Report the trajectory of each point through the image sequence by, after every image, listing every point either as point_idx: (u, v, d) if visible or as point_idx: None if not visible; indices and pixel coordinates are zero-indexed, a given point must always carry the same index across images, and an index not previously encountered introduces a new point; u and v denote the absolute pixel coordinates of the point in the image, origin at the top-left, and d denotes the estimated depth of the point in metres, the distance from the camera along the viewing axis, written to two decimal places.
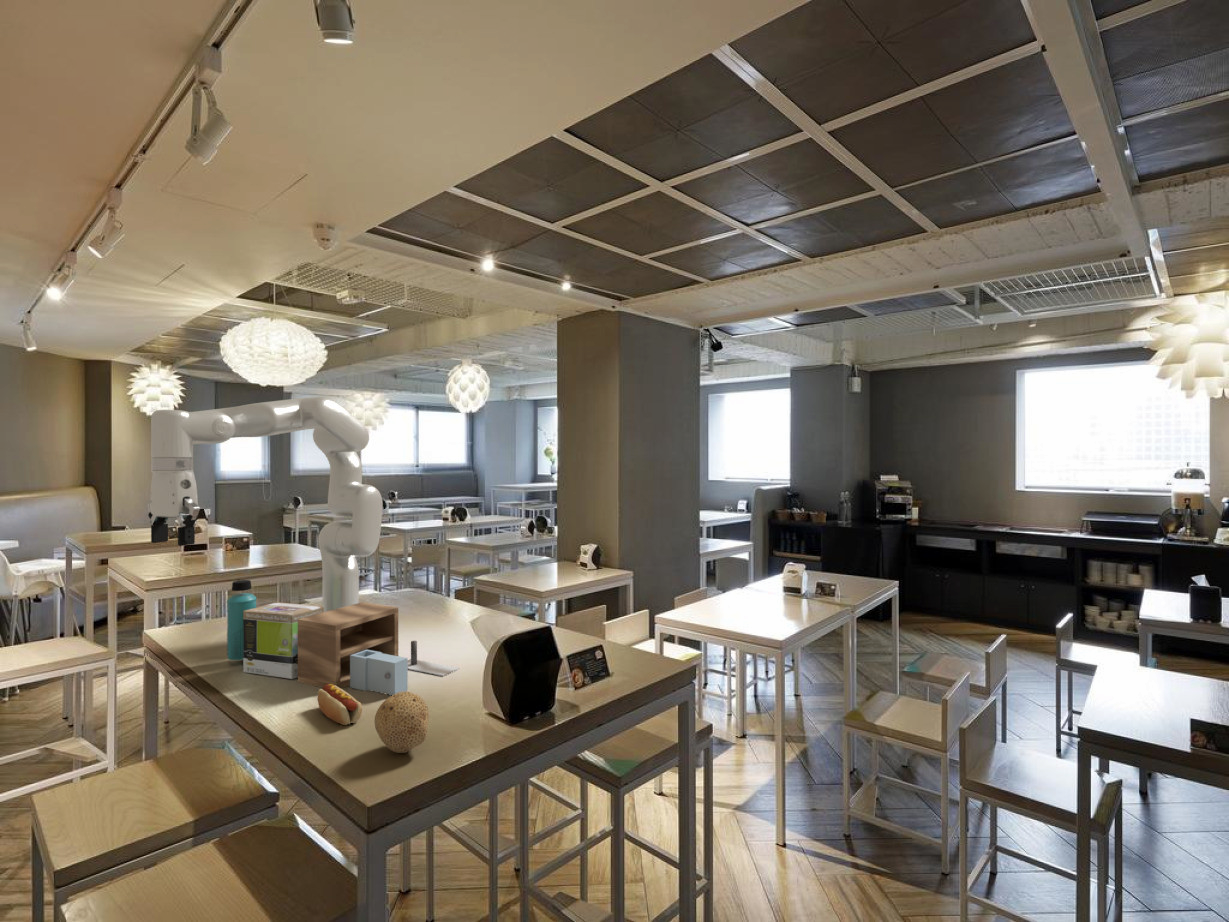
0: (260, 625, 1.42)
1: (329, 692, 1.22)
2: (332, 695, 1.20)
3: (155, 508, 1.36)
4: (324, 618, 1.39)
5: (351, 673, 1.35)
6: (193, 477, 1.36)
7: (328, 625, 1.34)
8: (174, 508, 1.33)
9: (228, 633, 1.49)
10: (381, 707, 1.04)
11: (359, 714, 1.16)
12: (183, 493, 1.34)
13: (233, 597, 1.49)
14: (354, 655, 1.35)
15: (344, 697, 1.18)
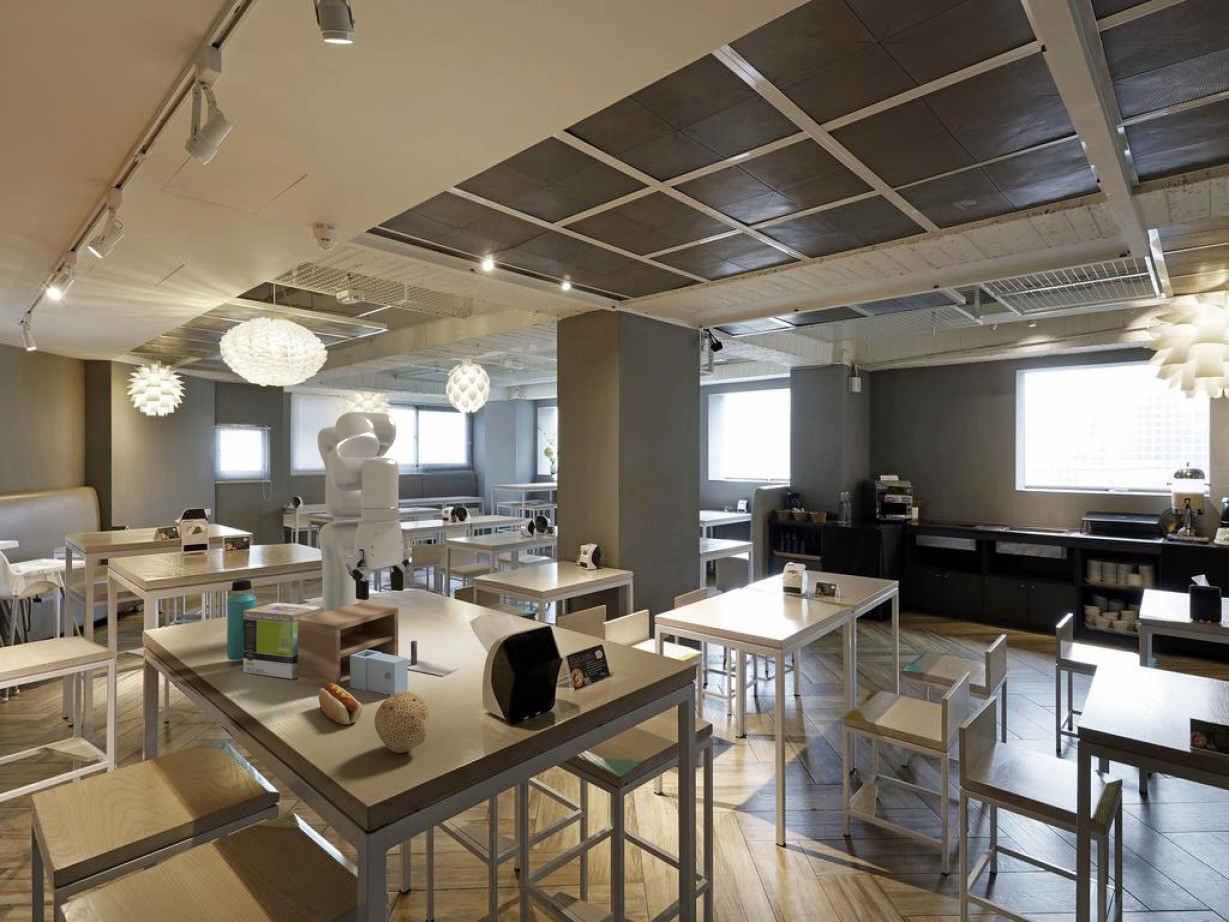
0: (260, 625, 1.42)
1: (330, 691, 1.22)
2: (333, 695, 1.21)
3: (379, 560, 1.31)
4: (324, 618, 1.39)
5: (351, 673, 1.35)
6: None
7: (328, 625, 1.34)
8: (402, 555, 1.37)
9: (228, 633, 1.49)
10: (381, 707, 1.04)
11: (359, 714, 1.16)
12: None
13: (233, 597, 1.49)
14: (354, 655, 1.35)
15: (344, 697, 1.18)
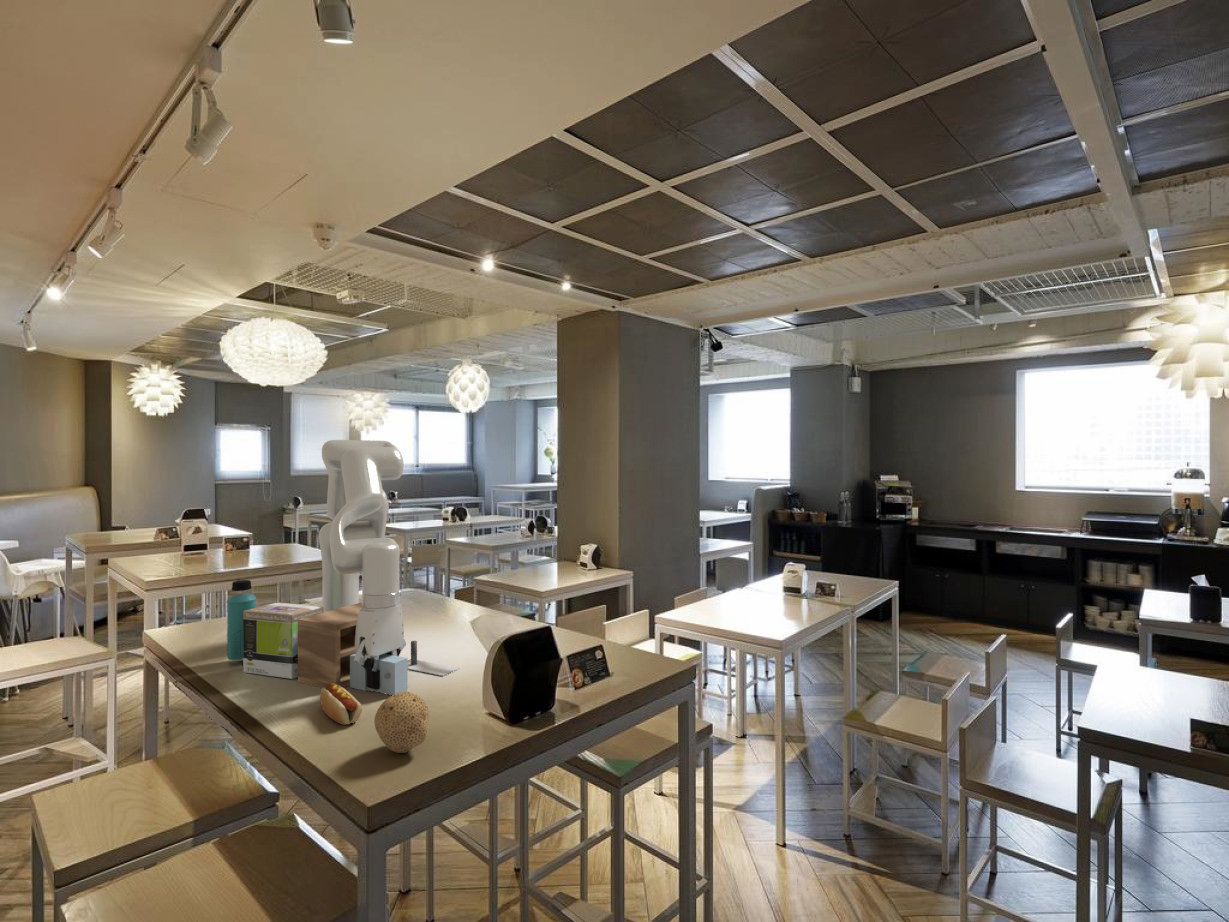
0: (260, 625, 1.42)
1: (331, 691, 1.22)
2: (333, 694, 1.21)
3: (380, 647, 1.31)
4: (324, 618, 1.39)
5: (351, 673, 1.35)
6: None
7: (328, 625, 1.34)
8: (402, 638, 1.37)
9: (228, 633, 1.49)
10: (381, 707, 1.04)
11: (358, 714, 1.16)
12: None
13: (233, 597, 1.49)
14: (354, 655, 1.35)
15: (344, 697, 1.18)
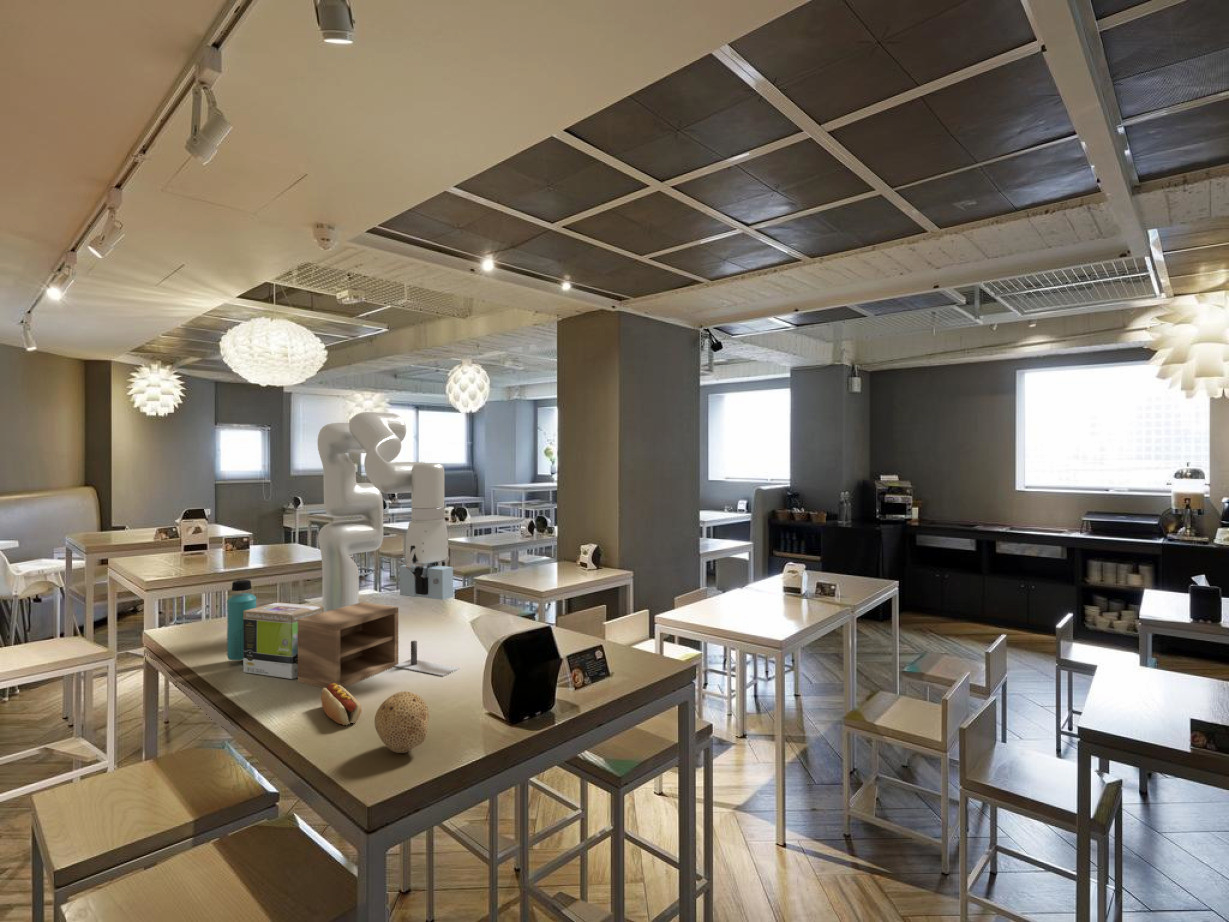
0: (260, 625, 1.42)
1: (332, 691, 1.22)
2: (334, 694, 1.21)
3: (428, 556, 1.44)
4: (324, 618, 1.39)
5: (401, 581, 1.47)
6: None
7: (328, 625, 1.34)
8: (447, 551, 1.50)
9: (228, 633, 1.49)
10: (381, 707, 1.04)
11: (358, 715, 1.16)
12: None
13: (233, 597, 1.49)
14: (404, 566, 1.48)
15: (344, 697, 1.18)
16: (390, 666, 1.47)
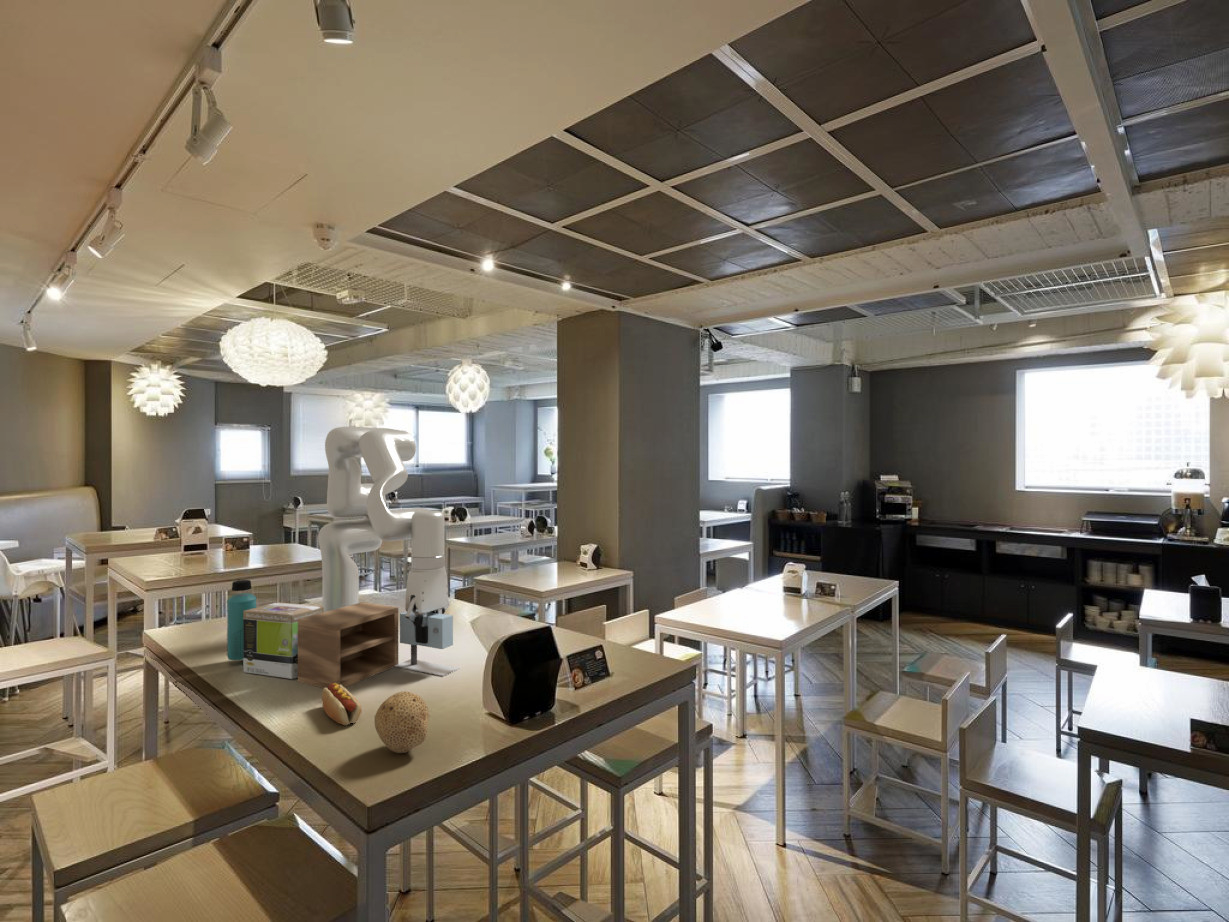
0: (260, 625, 1.42)
1: (332, 691, 1.22)
2: (334, 694, 1.21)
3: (428, 605, 1.44)
4: (324, 618, 1.39)
5: (401, 629, 1.48)
6: None
7: (328, 625, 1.34)
8: (447, 598, 1.50)
9: (228, 633, 1.49)
10: (381, 707, 1.04)
11: (358, 715, 1.16)
12: None
13: (233, 597, 1.49)
14: (404, 613, 1.48)
15: (344, 697, 1.18)
16: (390, 666, 1.47)
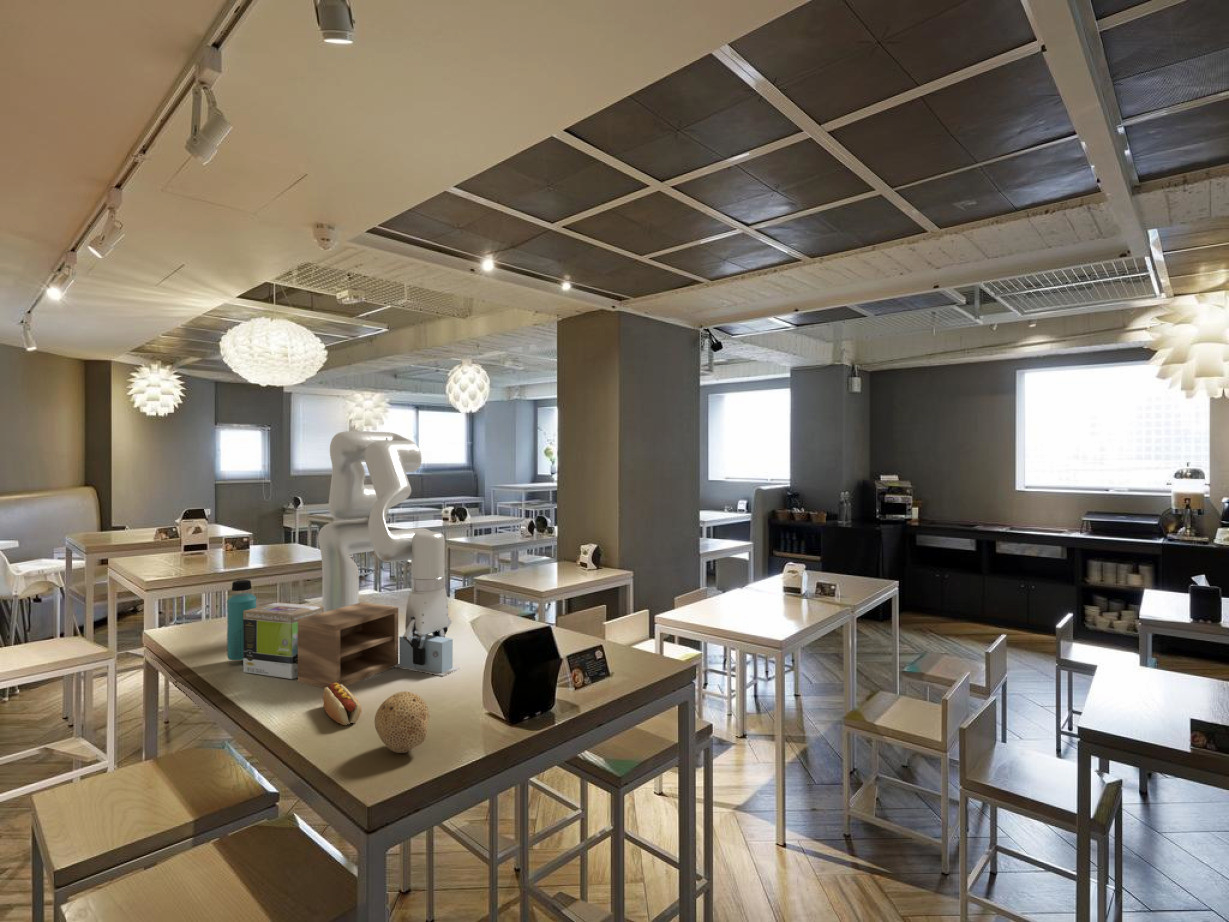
0: (260, 625, 1.42)
1: (333, 691, 1.22)
2: (335, 694, 1.21)
3: (428, 626, 1.44)
4: (324, 618, 1.39)
5: (400, 652, 1.48)
6: None
7: (328, 625, 1.34)
8: (447, 619, 1.50)
9: (228, 633, 1.49)
10: (381, 707, 1.04)
11: (358, 715, 1.16)
12: None
13: (233, 597, 1.49)
14: None
15: (344, 697, 1.18)
16: (390, 666, 1.47)
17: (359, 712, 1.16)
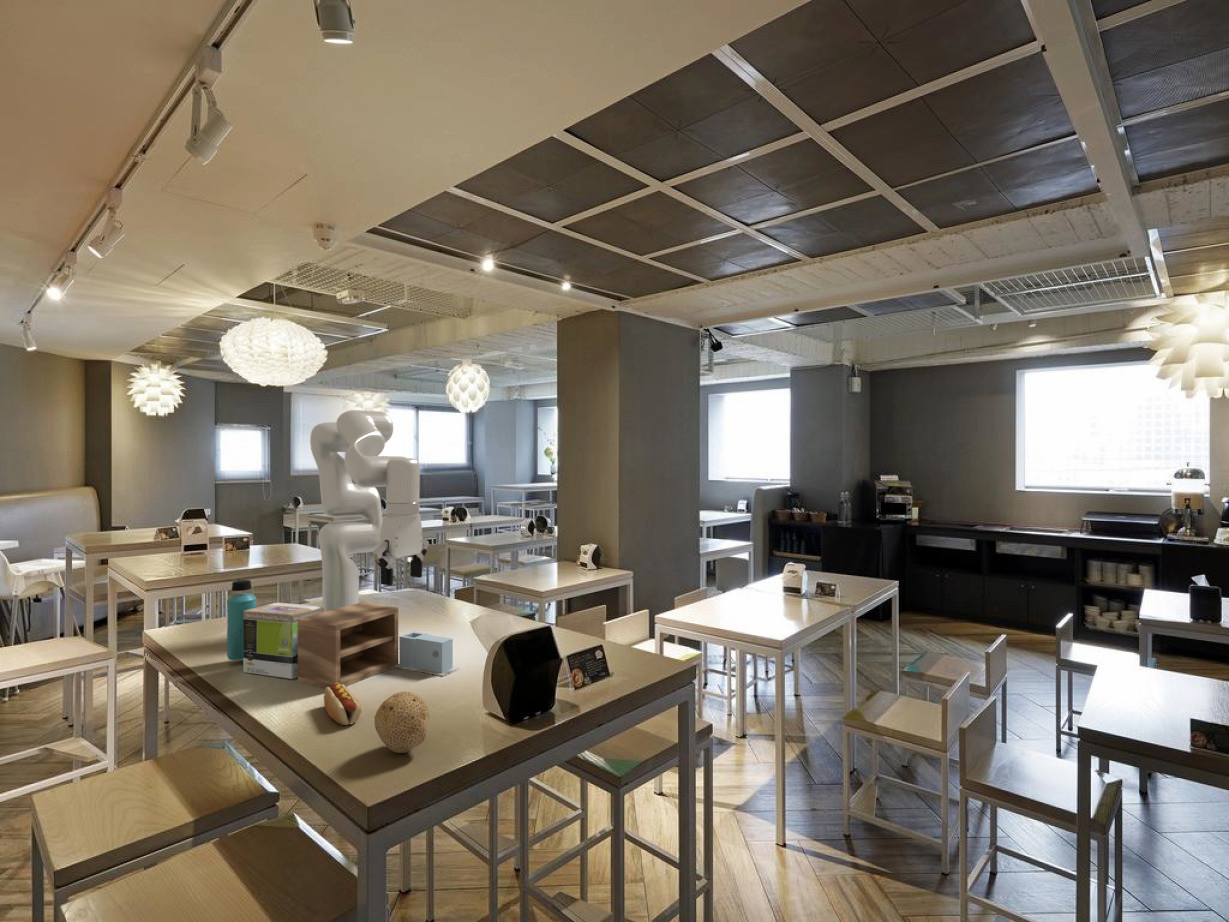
0: (261, 625, 1.42)
1: (334, 691, 1.22)
2: (336, 694, 1.21)
3: (402, 550, 1.45)
4: (324, 618, 1.39)
5: (400, 652, 1.48)
6: None
7: (328, 625, 1.34)
8: (421, 545, 1.51)
9: (228, 633, 1.49)
10: (381, 707, 1.04)
11: (357, 715, 1.16)
12: None
13: (233, 597, 1.49)
14: (403, 636, 1.48)
15: (344, 697, 1.18)
16: (390, 666, 1.47)
17: (359, 712, 1.16)
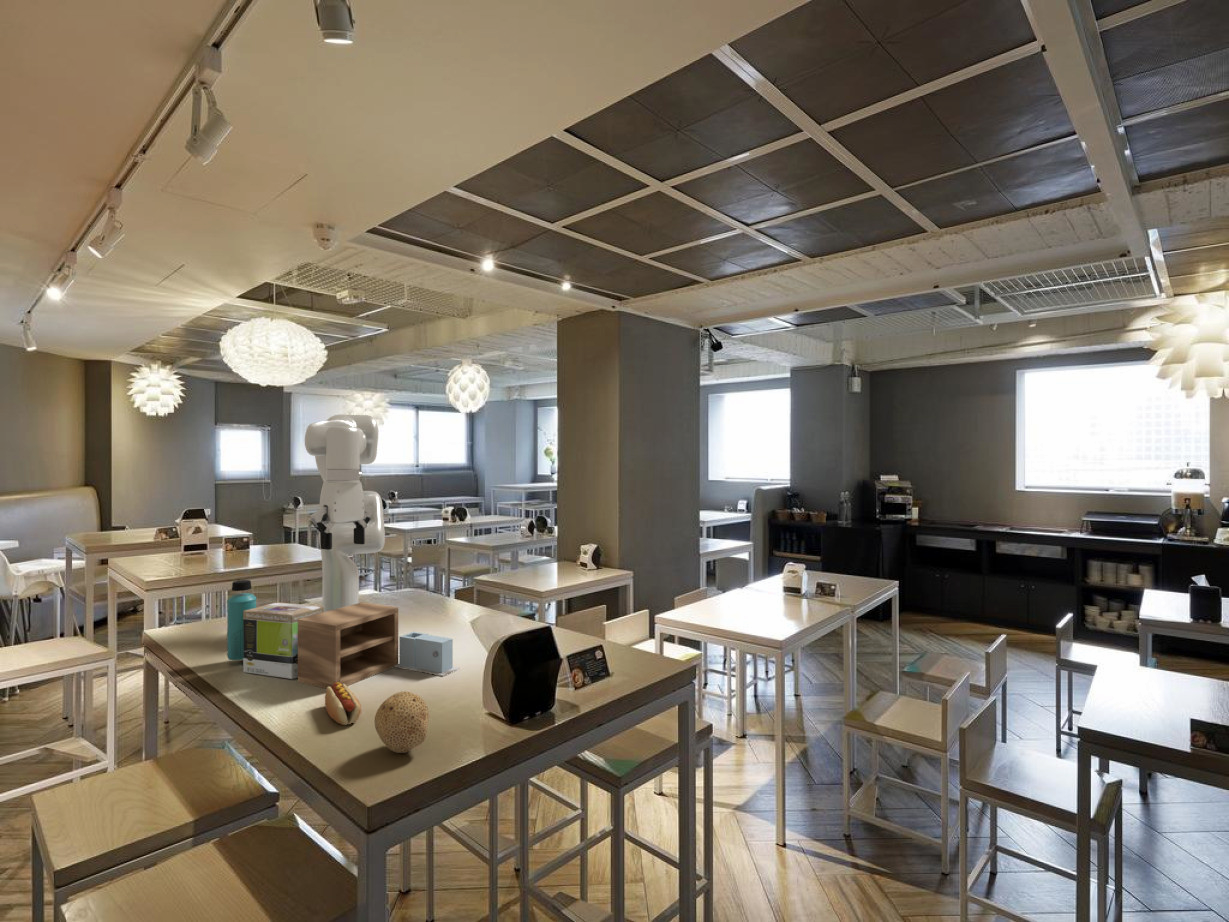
0: (260, 625, 1.42)
1: (335, 690, 1.22)
2: (336, 694, 1.21)
3: (341, 515, 1.48)
4: (324, 618, 1.39)
5: (400, 652, 1.48)
6: None
7: (328, 625, 1.34)
8: (363, 512, 1.54)
9: (228, 633, 1.49)
10: (381, 707, 1.04)
11: (357, 715, 1.16)
12: None
13: (233, 597, 1.49)
14: (403, 636, 1.48)
15: (344, 697, 1.18)
16: (390, 666, 1.47)
17: (358, 712, 1.16)
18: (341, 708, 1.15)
